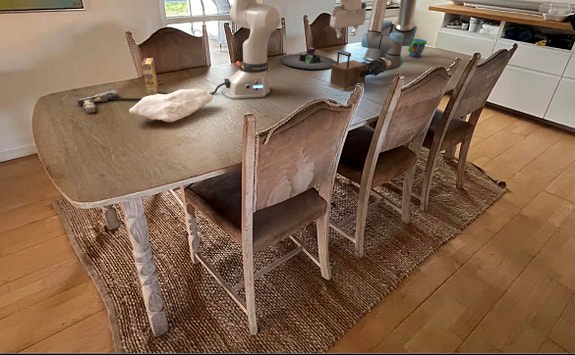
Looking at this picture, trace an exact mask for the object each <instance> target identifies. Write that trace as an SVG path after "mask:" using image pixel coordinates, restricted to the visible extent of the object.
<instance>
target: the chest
mask: <svg viewBox="0 0 575 355" xmlns="http://www.w3.org/2000/svg"><path fill="white" fill-rule="evenodd" d="M330 68H331V70H330V80H329V86H330V87H332V88H334V89H337V90H339V91H343V92H345V91H349V90H353V89H356V88H355V85H356V84H357V83H363V84H364V85H365V83H366V77H367V76H363V77H360V75H361V71H365V70H367V66H366V67H362V68H358V69H353V70H349V71H342V70H339V69H336V68H333V67H330Z"/></svg>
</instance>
